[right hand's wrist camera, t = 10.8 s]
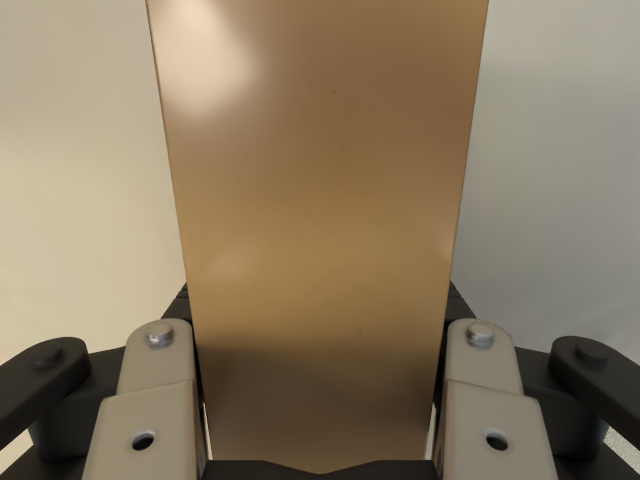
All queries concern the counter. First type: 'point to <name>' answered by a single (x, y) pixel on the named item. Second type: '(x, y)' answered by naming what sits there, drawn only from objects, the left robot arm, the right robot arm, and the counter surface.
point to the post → (317, 213)
